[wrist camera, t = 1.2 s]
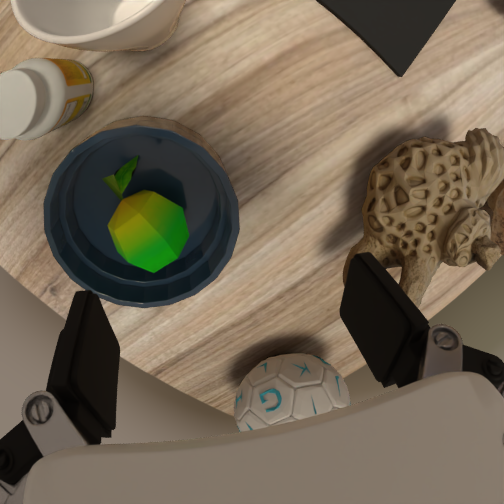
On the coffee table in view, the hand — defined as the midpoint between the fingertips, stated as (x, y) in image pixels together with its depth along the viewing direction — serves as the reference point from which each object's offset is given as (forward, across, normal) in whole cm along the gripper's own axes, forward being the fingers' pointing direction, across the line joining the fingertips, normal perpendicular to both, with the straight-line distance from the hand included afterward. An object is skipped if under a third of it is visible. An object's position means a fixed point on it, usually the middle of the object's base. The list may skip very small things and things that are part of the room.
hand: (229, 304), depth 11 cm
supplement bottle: (+17, +11, -8) cm, 22 cm away
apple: (+17, +5, +3) cm, 18 cm away
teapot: (+17, -19, +3) cm, 26 cm away
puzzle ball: (+17, -8, +29) cm, 35 cm away
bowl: (+17, +5, +3) cm, 18 cm away
